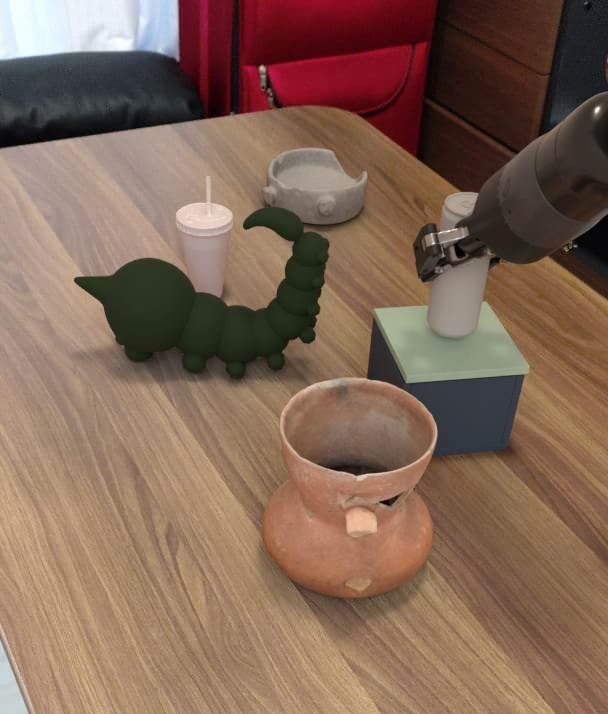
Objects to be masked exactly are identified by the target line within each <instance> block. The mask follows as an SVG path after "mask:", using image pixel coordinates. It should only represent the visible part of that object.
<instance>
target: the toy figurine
mask: <svg viewBox="0 0 608 714" xmlns="http://www.w3.org/2000/svg"><path fill="white" fill-rule="evenodd" d="M255 227H263V228H267V229H269V230H271V231H273V232H275V233H276V235H278V236H279V237H280V238H282V239H283V240H285V241H288V242H293V244H292V246H291V253H292V255H291V256H290V257H289V258H288V259H287V261H286V263H285V267H284V277H283V279H282V280H281V281H280V282H279V284H278V286H277V289H276V294H275V297H274V298H272V300H270V301H269V303H268V305H267V306H266V307H261V308H257V309H256V310H255V309H252V308H250V307H248V306H245V305H241V304H233V305H227V303H226V302H225V301H224V300H223V299H222V298H221V297H220V298H219V297H217V296H215V295H213V294H210V293H206V292H196V291H195V289H194V286H193V284H192V283H191V281H190V279H189V278H188V275H187V273H185V272H184V271H183V270H182V269H181V268H179V267H178V266H176V265H175V264H173V263H171V262H169V261H166V260H163V259H161V258H157V257H142V258H136V259H133V260H131V261H129V262H127V263H125V264H123V265H122V266H121V267H119V268H118V269H117V270H115V272H114V273H112V274H110V275H87V276H83V275H82V276H75V277H74V278H73V283H75V285H77V286H78V287H79V288H81V289H82V290H83V291H85V293H88V294H89V295H90V296H92V297H93V298H94V299H95V300H97V301H98V302H99V303H100V304H101V305H102V307H103V311H104V316H105V319H106V321H107V324H108V326H109V328H110V330H111V332H112V334H114V339H115V342H116V343H117V344H118V345H120V346H122V347H123V348H124V353H125V356H126V357H127V358H128V359H129V360H130V361H132V362H134V363H144V362H146V361H147V360H150V359H152V357H153V355H154V353H156V354H157V353H163V352H167V351H170V350H172V349H174V348H176V349H177V350H178V351H179V352H180V353H181V354H182V355H181V364H182V367H183V369H184V370H186V371H187V372H190V374H199V373H201V372H202V371H203V370H204V369H205V368H206V367H207V363H208V361H207V360H208V359H213V358H215V357H216V358H217V359H219V360H220V361H221V362H222V363H226V364H227V365H226V368H225V371H226V373H227V374H228V376H229V377H230V378H233V379H240V378H242V377H243V376H245V373H246V370H247V364H250V363H252V362H254V361H255V360H257V359H258V358H262V359H265V360H266V361H265V362H266V365H267V368H268V369H270V370H272V371H274V372H276V371H280V370H283V368H284V367H285V365H286V358H285V354H284V353H283V351H284V350H285V349H286V348H287V347H288V344H289V342H290V341H295V340H297V339H298V338H299V340H300V341H301V343H302V344H307V345H310V344H312V343H313V342H315V341H316V338H317V333H316V331H315V328H316V325H317V322H318V318H317V316H318V315H320V314H321V310H322V308H321V305H320V303H319V302H318V301H319V299H320V298H321V295H322V293H323V292H322V291H323V289H322V288H323V287H324V285H325V283H326V280H325V273H326V270H327V265H326V263H327V262H328V261H329V258H330V254H329V249H330V247H331V243H330V241H329V239H328V238H325V237H323V235H321V234H320V233H319V232H317V231H311V230H310V231H305V228H304V222H302V221H301V219H300V217H299V216H297V215H296V214H295V213H294V212H292V211H289V210H287V209H285V208H280V207H271V206H264V207H261V208H259V209H257V210H255V211H253V212H251V214H249V215H248V216H247V217H246V218H245V219H244V221H243V222H242V228H243V229H244V230H245V231H248V230H251V229H253V228H255Z"/></svg>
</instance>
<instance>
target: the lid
mask: <svg viewBox="0 0 608 714" xmlns="http://www.w3.org/2000/svg"><path fill="white" fill-rule="evenodd" d="M427 312H428V304H426V305H425V304H423V305H409V306H407V305H406V306H393V307H377V308H373V314H372V315H373V316H372V317H374V318H375V320H376V322H377V324H378V326H379V328H380V330H381V333H382V335H383V337H384V339H385V341H386V343H387V345H388V347H389V349H390V351H391V353H392V355H393V358H394V360H395V362H396V364H397V366H398V368H399V370H400V372H401V374H402V376H403V378H404V380H405V383H417V382H430V381H443V380H456V379H469V378H482V377H495V376H508V375H521V374H524V375H529V374H530V369H531V366H530V364H529V363H528V361H527V360H526V359H525V357H524V355H523V354H522V352H521V350H520V349H519V348H518V346H517V345H516V344H515V342H514V340H513V339H512V337H511V336H510V334H509V333H508V331H507V330H506V328H505V327H504V325H503V323H502V322H501V320H500V319H499V317H498V316H497V315H496V313H495V312H494V310H493V308H492V307H491V306H490V304H489V303H488V301H482V305H481V311H480V316H479V321H478V326H477V328H476V329H475V330H474V331H473V332H472V333H470V334H469V335H467V336H465V337H461V338H448V337H444V336H441V335H439V334H437V333H436V332H434V331H433V330H432V329H431V328H430V326H429V324H428V322H427Z"/></svg>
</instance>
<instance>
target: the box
mask: <svg viewBox="0 0 608 714" xmlns="http://www.w3.org/2000/svg"><path fill="white" fill-rule="evenodd" d="M371 325H372V326H371V336H370V345H369V351H368V352H369V353H368V363H367V372H366V379H369V380H377V381H382V382H386V383H389V384H392V385H394V386H396V387H398V388H400V389H403V390H404V391H406V392H407V393H409V394H411V395H412V396H414V397H415V398H416V399H417V400H418V401H420V402H421V403H422V404H423V405H424V406H425V407H426V408H427V410H428V411H429V412H430V413H431V415H432V416H433V418H434V421H435V423H436V426H437V441H436V445H435V448H434V451H433V454H432V457H441V456H442V457H443V456H455V455H462V454H473V453H474V454H475V453H485V452H496V451H497V452H498V451H507V450H508V447H509V442H510V438H511V434H512V430H513V426H514V422H515V417H516V414H517V409H518V405H519V401H520V396H521V392H522V389H523V384H524V380H525V376H526V374H521V375H508V376H495V377H482V378H469V379H456V380H443V381H430V382H417V383H405V380H404V378H403V376H402V374H401V372H400V370H399V368H398V366H397V364H396V362H395V360H394V358H393V355H392V353H391V351H390V349H389V347H388V345H387V343H386V341H385V339H384V337H383V335H382V333H381V330H380V328H379V326H378V324H377V322H376V320H375V318H374V316H372V324H371Z"/></svg>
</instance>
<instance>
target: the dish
mask: <svg viewBox="0 0 608 714" xmlns="http://www.w3.org/2000/svg"><path fill="white" fill-rule="evenodd" d="M368 175H369V174H368V172H367V171H365V170H363V171H362V172H361V174H360V175H359V177H357V178H353V177H350V176H349V175H348V174H347V172H345V169H344V168H343V166H342V165H341V164H340V162H339V160H338V158H337V156H336V153H335V152H334V150H331V149H327V148H320V147H301V148H295V149H291V150H286V151H283V152H281V153H279V154H278V155H277V156H276V157H273V159H271V161H270V162H269V165H268V169H267V173H266V182H265V183H266V184H265V185H266V186H263V187H262V188H261V197H262V199H263V200H264V202H265V203H266V204H267V205H269V207H280V208H285V209H287V210H289V211H292V212H294V213H295V214H296V215H297V216H299V217H300V219H301V221H302V223H303V224H311V225H335V224H339V223H343V222H347V221H348V220H351V219H353V218H355V217H356V216H357V215H358V214H359V213H360V212H361V210H362V209H363V206H364V203H365V200H366V196H367V191H368V185H369V184H368V183H369V176H368Z"/></svg>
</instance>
